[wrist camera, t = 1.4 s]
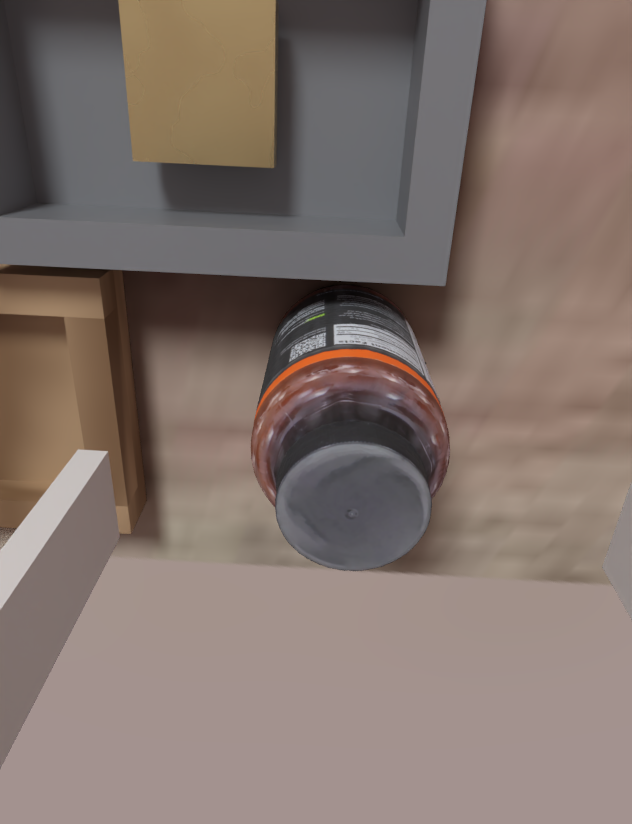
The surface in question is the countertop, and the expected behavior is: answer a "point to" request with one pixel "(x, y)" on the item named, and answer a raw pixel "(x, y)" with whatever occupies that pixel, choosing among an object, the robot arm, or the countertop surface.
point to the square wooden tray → (65, 385)
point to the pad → (202, 80)
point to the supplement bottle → (349, 430)
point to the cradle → (234, 185)
